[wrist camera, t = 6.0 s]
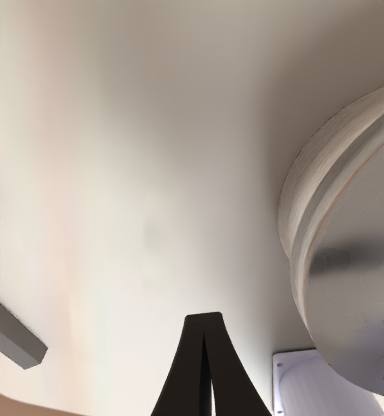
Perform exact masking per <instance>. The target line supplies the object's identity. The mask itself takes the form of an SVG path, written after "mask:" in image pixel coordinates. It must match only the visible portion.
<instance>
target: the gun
mask: <svg viewBox="0 0 384 416" xmlns="http://www.w3.org/2000/svg"><path fill="white" fill-rule="evenodd" d="M47 349H48V348H47V347H46V346H45V345H44V344H43V343H42V342H41V341H40V340H39V339H38V338H37V337H36V336H35V335H34V334H32V333H31V332H30V331H29V330H28V329H27V328H26V327H25V326H24V325H23V324H22V323H21V322H20V321H19V320H18V319H16V318H15V317H14V316H13V315H12V314H11V313H10V312H9V311H8V310H7V309H6V308H4V307H3V306H2V305H1V304H0V352H1V353H3V354H4V355H5V356H7V357H8V358H10V359H11V360H12V361H14V362H15V363H16V364H18V365H19V366H21V367H22V368H23V369H28V368H31V367H33V366H36V365H38V364H41V362H42V360H43V358H44V356H45V354H46V351H47Z"/></svg>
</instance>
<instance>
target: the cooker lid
mask: <svg viewBox="0 0 384 416" xmlns="http://www.w3.org/2000/svg"><path fill="white" fill-rule="evenodd" d="M290 283H291V290H292V294H293V298H294V302H295V304H296V307H297V309H298V311H299V313H300V316H301V318H302V320H303V322H304V324H305V326H306V328H307V330H308V332H309V334H310V336H311V338H312V340H313V342H314V344H315V346H316V348H317V350H318V352H319V353H320V354H321V356H322V357H323V359H324V360H325V362H326V363H327V364H328V365H329V366H330V367H331V368H332V369H333V370H334V371H335V372H336V373H337V374H339V375H340V376H342V377H343V378H345V379H346V380H347V381H349V382H350V383H352V384H354V385H356V386H358V387H360V388H362V389H364V390H367V391H370V392H373V393H376V394H379V395H382V396H384V113H383V114H382V115H381V116H380V117H379V118H377V119H376V120H375V121H374V122H373V123H372V124H371V125H370V126H369V127H368V128H366V129H365V130H364V131H363V132H362V133H361V134H360V135H359V136H358V137H357V138H356V139H355V140H354V141H353V142H352V143H351V144H350V145H349V147H348V148H347V149H346V150H345V151H344V152H343V153H342V154H341V155H340V157H339V158H338V159H337V160H336V161H335V162H334V164H333V165H332V167H331V168H330V169H329V171H328V172H327V174H326V175H325V176H324V178H323V179H322V180H321V182H320V183H319V185H318V186H317V188H316V190H315V192H314V194H313V195H312V197H311V199H310V201H309V203H308V204H307V206H306V208H305V211H304V213H303V215H302V218H301V220H300V223H299V225H298V228H297V231H296V235H295V239H294V242H293V246H292V251H291V261H290Z"/></svg>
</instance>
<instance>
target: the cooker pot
mask: <svg viewBox="0 0 384 416" xmlns="http://www.w3.org/2000/svg"><path fill="white" fill-rule="evenodd" d="M383 113H384V87H381V88H379V89H377V90H375V91H372V92H370V93H368V94H366V95H364V96H362V97H360V98H359V99H357V100H356V101H354V102H352V103H351V104H349V105H348V106H346V107H344V108H343V109H342V110H341V111H339V112H338V113H337V114H335V115H334V116H333V117H332V118H330V119H329V120H328V121H327V122H326V123H325V124H324V125H323V126H322V127H321V128H320V129H319V130H318V131H317V132H316V133H315V134H314V135H313V136H312V137H311V139H310V140H309V141H308V142H307V143H306V145H305V146H304V147H303V149H302V150H301V152H300V153H299V155H298V156H297V158H296V159H295V161H294V162H293V164H292V166H291V168H290V170H289V172H288V174H287V176H286V179H285V182H284V185H283V188H282V190H281V195H280V199H279V204H278V216H277V221H278V232H279V236H280V240H281V244H282V246H283V249H284V251H285V253H286V255H287V257H288V258H289V260H290V261H291V251H292V246H293V242H294V239H295V235H296V231H297V228H298V225H299V223H300V220H301V218H302V215H303V213H304V211H305V208H306V206H307V204H308V203H309V201H310V199H311V197H312V195H313V194H314V192H315V190H316V188H317V186H318V185H319V183H320V182H321V180H322V179H323V178H324V176H325V175H326V174H327V172H328V171H329V169H330V168H331V167H332V165H333V164H334V162H335V161H336V160H337V159H338V158H339V157H340V155H341V154H342V153H343V152H344V151H345V150H346V149H347V148H348V147H349V145H350V144H351V143H352V142H353V141H354V140H355V139H356V138H357V137H358V136H359V135H360V134H361V133H362V132H363V131H364V130H365V129H366V128H368V127H369V126H370V125H371V124H372V123H373V122H374V121H375V120H376V119H377V118H379V117H380V116H381V115H382V114H383Z"/></svg>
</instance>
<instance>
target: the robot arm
mask: <svg viewBox="0 0 384 416" xmlns="http://www.w3.org/2000/svg"><path fill="white" fill-rule="evenodd" d="M211 379H212V385H213V391H214V399H215V412H216V416H272V415H271V414H270V412H269V410H268V409H267V407H266V406H265V404H264V402H263V401H262V399H261V397H260V396H259V394H258V392H257V391H256V389H255V387H254V385H253V384H252V382H251V380H250V378H249V377H248V375H247V373H246V371H245V369H244V367H243V365H242V363H241V361H240V359H239V357H238V355H237V353H236V351H235V349H234V347H233V345H232V342H231V340H230V337H229V335H228V332H227V330H226V327H225V324H224V321H223V317H222V313H220V312H210V313H201V314H192V315H187V316H186V317H185V321H184V326H183V330H182V334H181V338H180V341H179V345H178V348H177V351H176V354H175V357H174V360H173V363H172V366H171V368H170V371H169V374H168V376H167V379H166V381H165V384H164V386H163V389H162V391H161V394H160V396H159V398H158V401H157V403H156V405H155V407H154V410H153V412H152V414H151V416H212V391H211ZM273 402H274V416H384V411H383V410H382V408H381V406H380V405H379V403H378V401H377V400H376V398H375V396H374V395H373V393H372V392H370V391H367V390H364V389H362V388H360V387H358V386H356V385H354V384H352V383H350V382H349V381H347V380H346V379H345V378H343V377H342V376H340V375H339V374H337V373H336V372H335V371H334V370H333V369H332V368H331V367H330V366H329V365H328V364H327V363H326V362H325V360H324V359H323V357H322V356H321V354H320V353H319V352H318V350H317V349H315V350H306V351H296V352H286V353H278V354H275V355H274V356H273Z"/></svg>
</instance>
